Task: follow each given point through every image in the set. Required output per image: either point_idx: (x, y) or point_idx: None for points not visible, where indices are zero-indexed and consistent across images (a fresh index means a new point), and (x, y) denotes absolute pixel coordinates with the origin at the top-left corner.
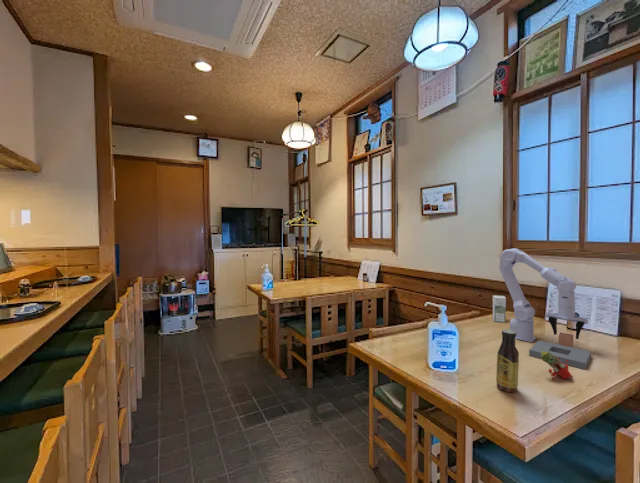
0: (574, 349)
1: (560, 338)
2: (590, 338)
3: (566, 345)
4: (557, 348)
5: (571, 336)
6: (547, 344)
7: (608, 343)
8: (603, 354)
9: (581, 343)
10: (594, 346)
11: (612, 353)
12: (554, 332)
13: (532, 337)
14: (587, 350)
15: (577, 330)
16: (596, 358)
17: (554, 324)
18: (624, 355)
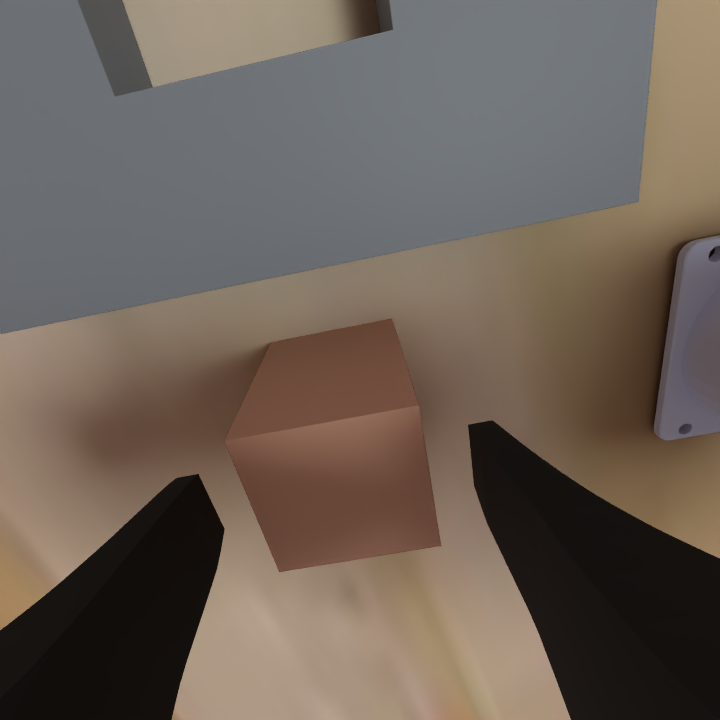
0: (130, 213)
1: (381, 379)
2: (326, 710)
3: (310, 356)
4: (310, 56)
5: (249, 483)
6: (478, 74)
7: (213, 702)
8: (75, 482)
9: (315, 593)
10: (226, 599)
11: (66, 555)
12: (501, 438)
13: (712, 339)
14: (36, 325)
15: (59, 616)
16: None
17: (603, 579)
18: (4, 576)
